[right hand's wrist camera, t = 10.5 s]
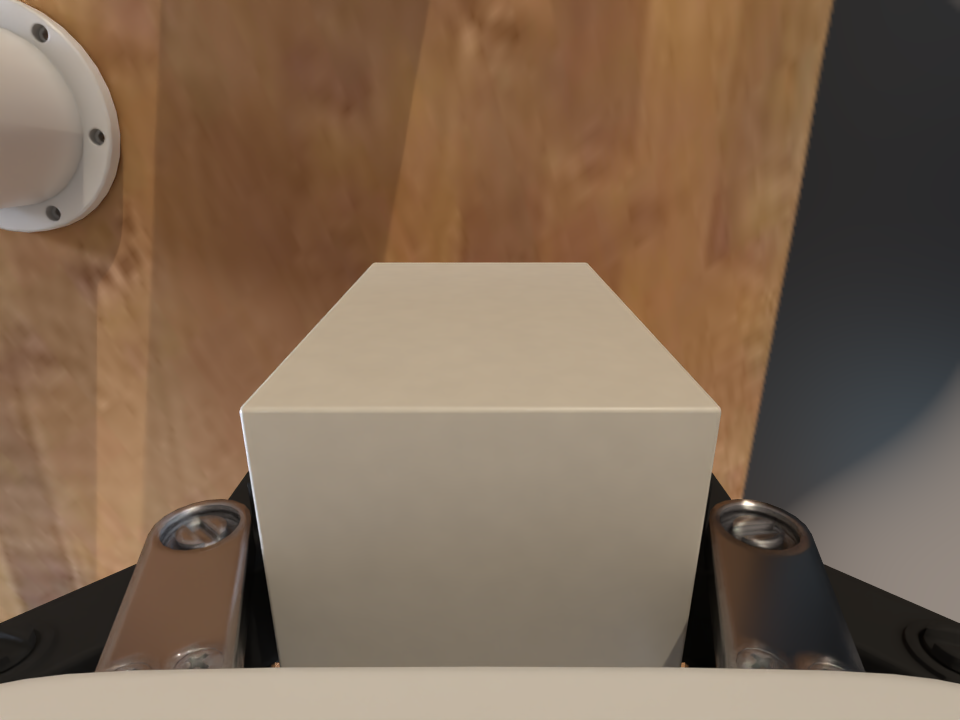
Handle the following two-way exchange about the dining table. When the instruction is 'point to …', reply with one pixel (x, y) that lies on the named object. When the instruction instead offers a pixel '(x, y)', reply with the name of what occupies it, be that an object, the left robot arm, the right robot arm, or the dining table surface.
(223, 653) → the right robot arm
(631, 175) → the dining table surface
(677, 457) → the block
